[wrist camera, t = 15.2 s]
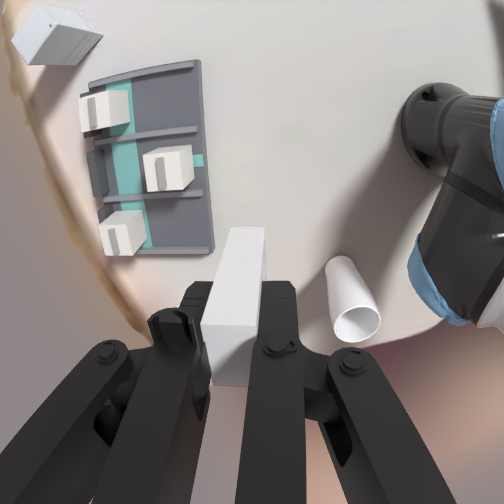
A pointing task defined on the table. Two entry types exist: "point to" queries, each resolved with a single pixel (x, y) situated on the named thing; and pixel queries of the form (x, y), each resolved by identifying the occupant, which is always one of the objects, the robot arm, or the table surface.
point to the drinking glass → (350, 301)
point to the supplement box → (55, 36)
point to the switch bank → (146, 140)
